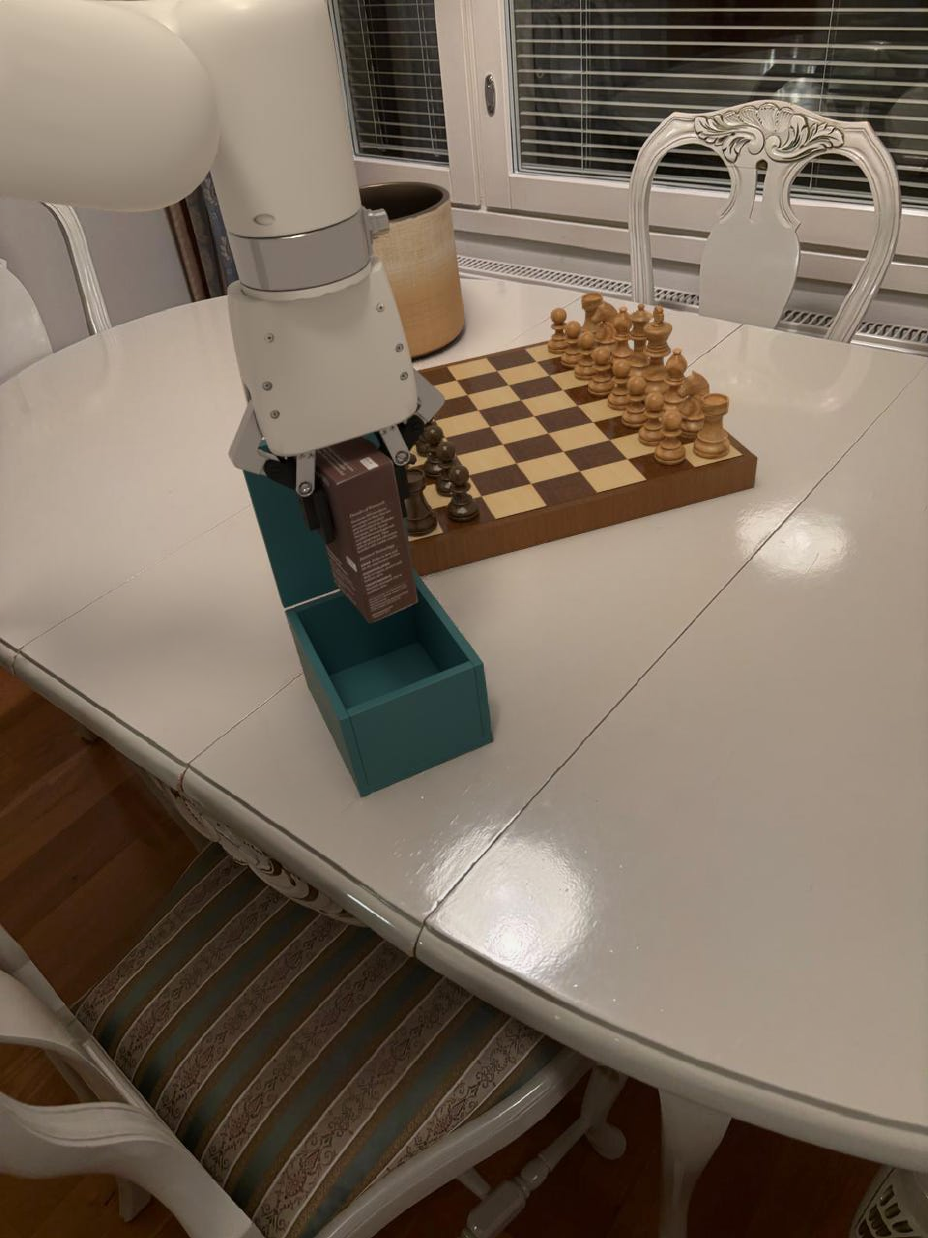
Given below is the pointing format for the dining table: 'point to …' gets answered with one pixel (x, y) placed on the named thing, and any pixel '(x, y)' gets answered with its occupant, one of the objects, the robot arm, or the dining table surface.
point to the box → (366, 528)
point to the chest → (392, 685)
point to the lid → (291, 539)
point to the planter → (419, 261)
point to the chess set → (566, 440)
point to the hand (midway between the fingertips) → (359, 519)
